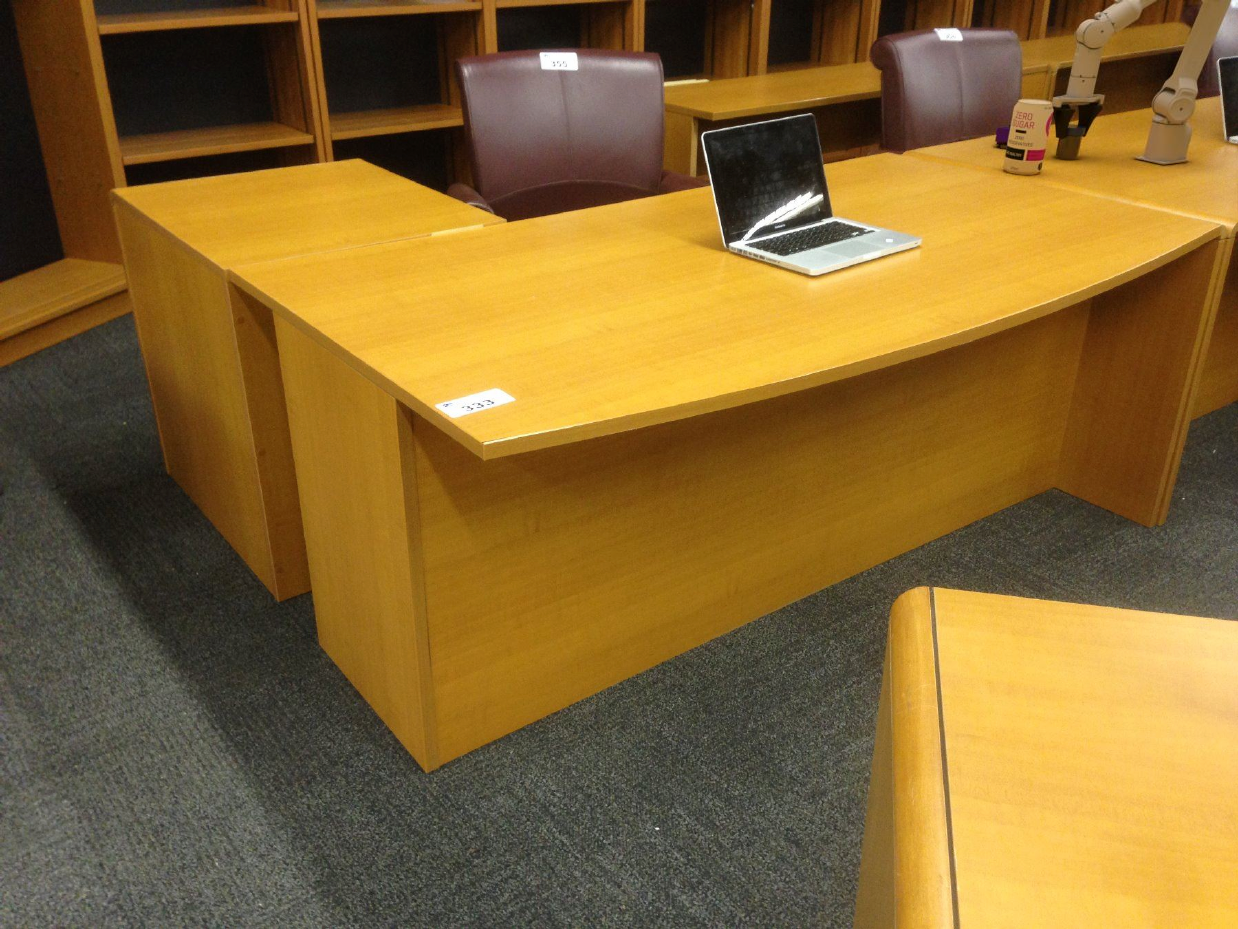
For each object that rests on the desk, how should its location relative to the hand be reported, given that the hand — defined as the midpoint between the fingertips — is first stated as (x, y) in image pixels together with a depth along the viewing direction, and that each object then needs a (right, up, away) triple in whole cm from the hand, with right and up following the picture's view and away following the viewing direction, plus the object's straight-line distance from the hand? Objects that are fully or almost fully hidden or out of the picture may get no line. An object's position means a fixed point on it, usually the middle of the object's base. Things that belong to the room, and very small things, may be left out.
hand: (1070, 137), depth 247 cm
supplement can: (-16, -12, -12) cm, 23 cm away
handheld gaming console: (-6, +3, +15) cm, 17 cm away
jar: (0, -4, +2) cm, 5 cm away
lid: (0, +2, -1) cm, 2 cm away
